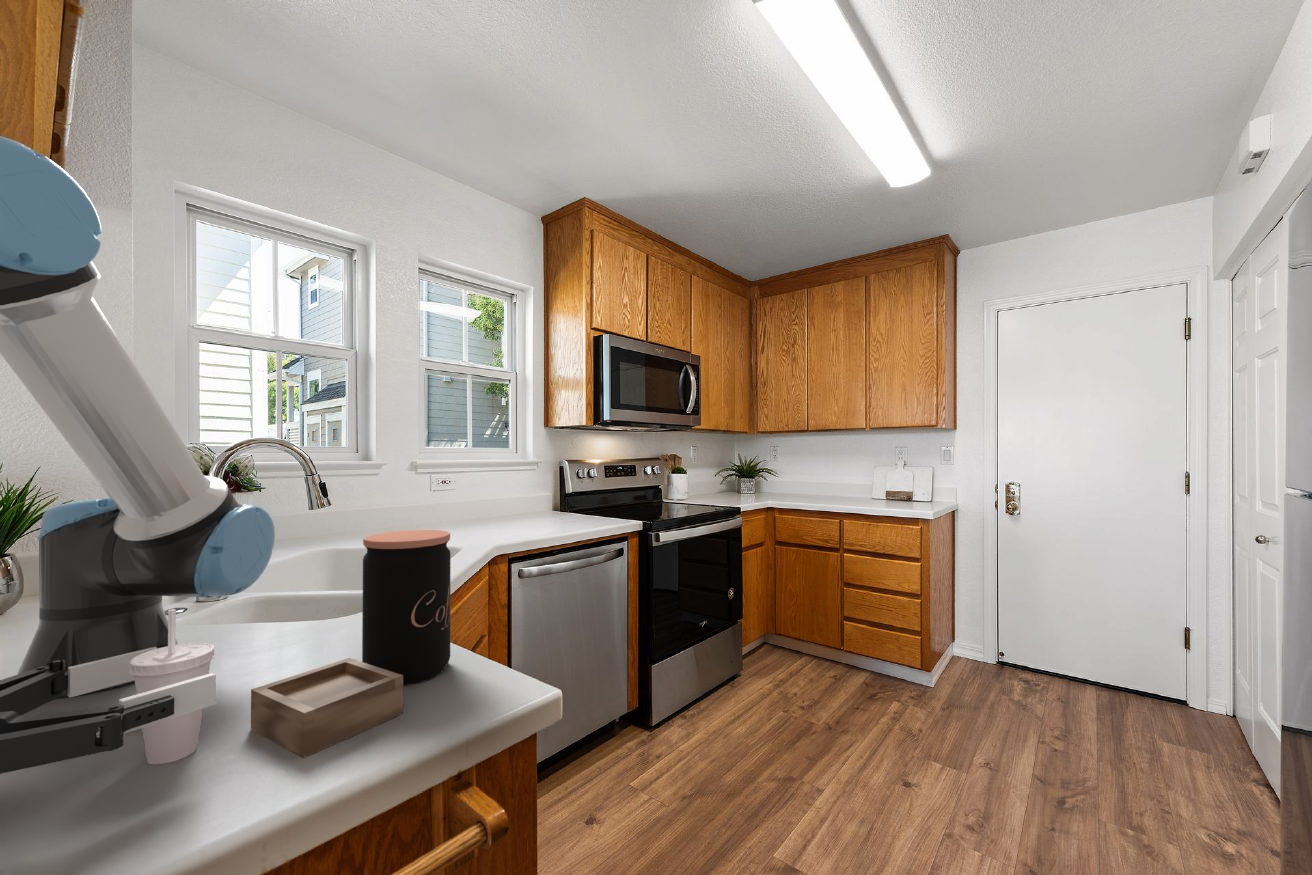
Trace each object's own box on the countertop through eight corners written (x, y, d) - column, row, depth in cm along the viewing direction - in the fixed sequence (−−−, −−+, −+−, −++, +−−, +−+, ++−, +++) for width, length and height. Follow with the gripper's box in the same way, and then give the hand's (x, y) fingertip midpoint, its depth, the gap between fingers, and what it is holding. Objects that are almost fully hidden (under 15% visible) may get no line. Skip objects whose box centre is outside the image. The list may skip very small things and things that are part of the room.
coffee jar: (419, 691, 69) (419, 542, 69) (342, 685, 71) (343, 540, 71) (465, 659, 79) (465, 530, 80) (397, 654, 81) (398, 528, 82)
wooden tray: (250, 729, 60) (251, 689, 60) (348, 692, 68) (349, 657, 69) (304, 757, 54) (304, 712, 54) (403, 713, 63) (403, 675, 63)
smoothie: (113, 779, 51) (116, 621, 51) (144, 744, 57) (146, 603, 57) (202, 762, 53) (204, 612, 54) (223, 731, 59) (224, 596, 59)
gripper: (-220, 782, 44) (135, 684, 62) (-199, 919, 31) (242, 745, 49) (-218, 685, 44) (136, 616, 62) (-196, 781, 31) (243, 658, 49)
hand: (183, 673), depth 56 cm, fingers open, 13 cm apart
